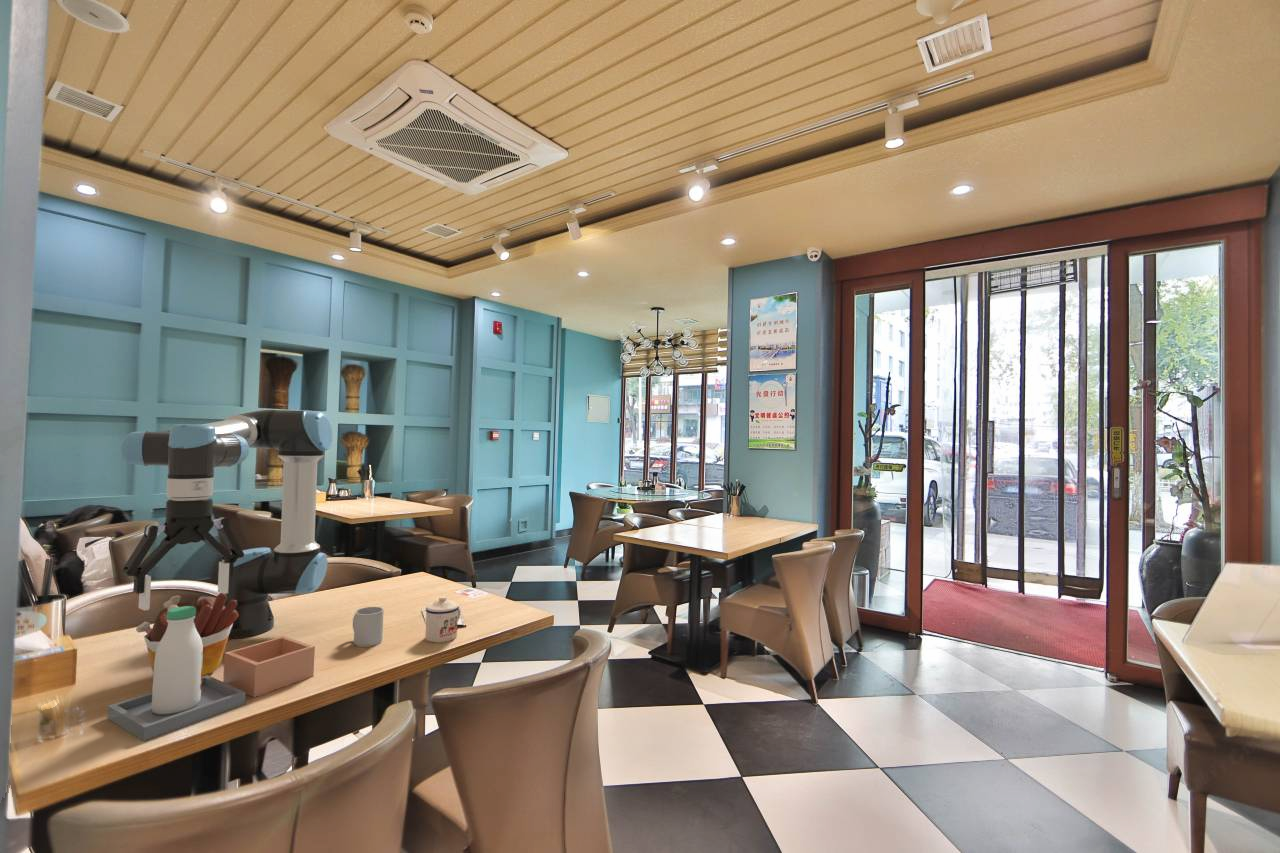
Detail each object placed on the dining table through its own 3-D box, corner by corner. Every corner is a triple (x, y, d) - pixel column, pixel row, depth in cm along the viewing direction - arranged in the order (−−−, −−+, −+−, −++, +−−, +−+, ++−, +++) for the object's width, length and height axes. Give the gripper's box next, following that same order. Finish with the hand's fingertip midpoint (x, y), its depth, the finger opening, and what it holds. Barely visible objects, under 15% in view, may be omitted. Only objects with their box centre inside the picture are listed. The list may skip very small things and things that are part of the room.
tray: (107, 718, 109) (108, 705, 109) (207, 686, 124) (207, 675, 124) (143, 741, 102) (144, 727, 102) (245, 703, 117) (245, 692, 117)
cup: (364, 649, 148) (366, 616, 148) (341, 642, 153) (342, 610, 153) (388, 641, 155) (389, 609, 155) (364, 634, 159) (366, 603, 159)
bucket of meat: (119, 682, 125) (124, 594, 125) (195, 655, 141) (199, 578, 141) (182, 696, 119) (187, 604, 120) (254, 666, 135) (258, 585, 136)
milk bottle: (198, 710, 111) (203, 611, 112) (148, 719, 107) (153, 616, 108) (202, 694, 118) (207, 601, 118) (154, 703, 114) (160, 606, 114)
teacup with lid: (442, 645, 153) (443, 603, 153) (417, 640, 156) (418, 598, 156) (470, 632, 164) (472, 593, 164) (447, 627, 167) (448, 589, 167)
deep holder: (223, 683, 126) (224, 652, 126) (282, 664, 137) (283, 636, 137) (254, 697, 119) (255, 665, 120) (313, 676, 131) (314, 646, 131)
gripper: (119, 505, 101) (114, 620, 101) (264, 494, 123) (260, 589, 123) (102, 502, 105) (97, 613, 105) (246, 492, 127) (242, 583, 127)
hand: (185, 600), depth 114 cm, fingers open, 13 cm apart
